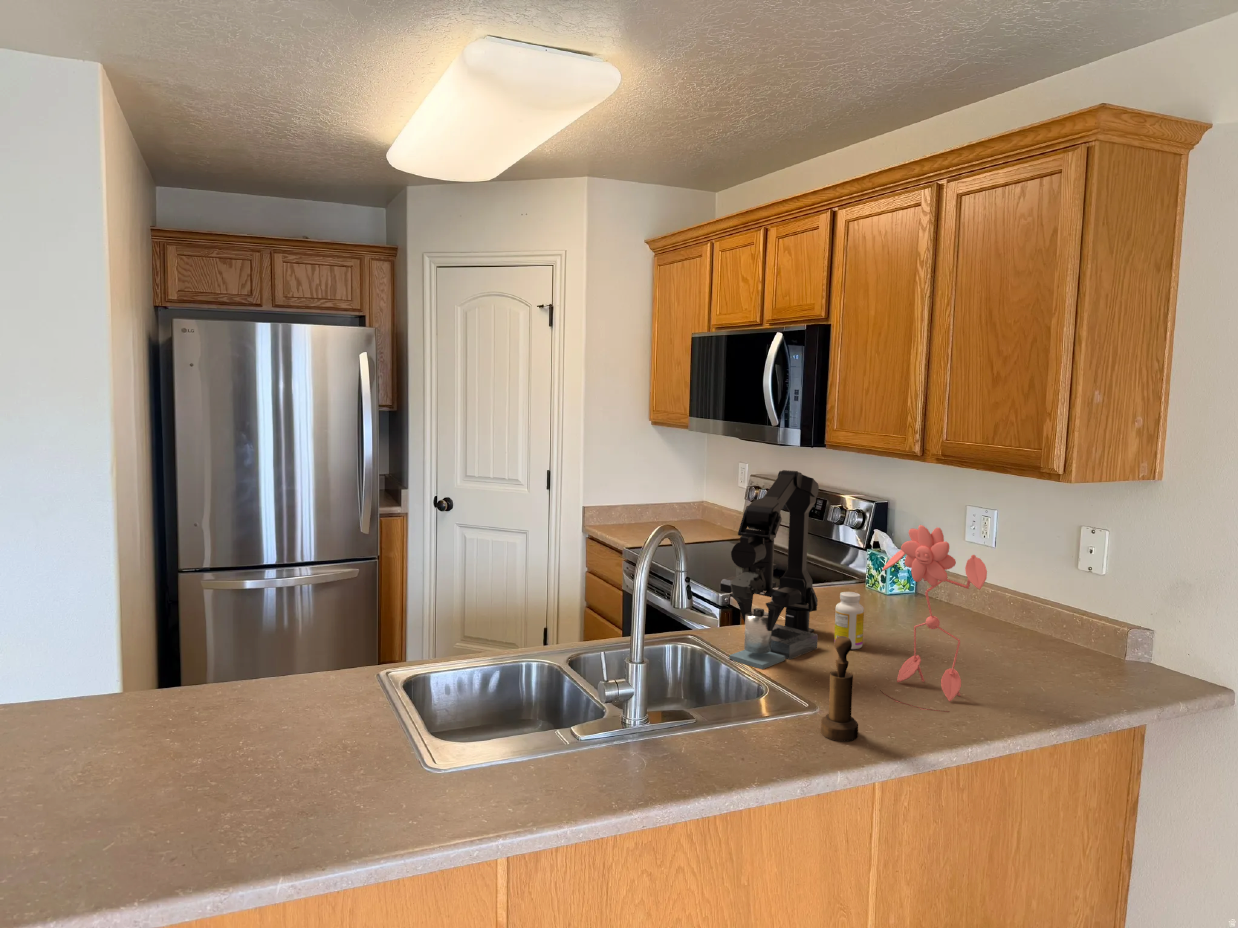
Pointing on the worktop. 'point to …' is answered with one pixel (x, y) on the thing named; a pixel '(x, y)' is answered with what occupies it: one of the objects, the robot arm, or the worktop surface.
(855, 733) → the mortar and pestle
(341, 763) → the worktop surface
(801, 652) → the frame
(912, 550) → the figurine
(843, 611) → the supplement bottle
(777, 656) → the mat
